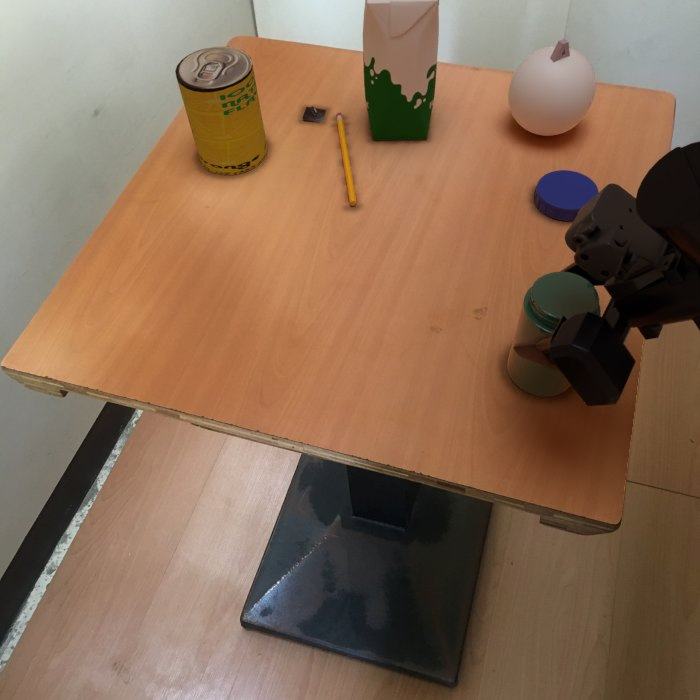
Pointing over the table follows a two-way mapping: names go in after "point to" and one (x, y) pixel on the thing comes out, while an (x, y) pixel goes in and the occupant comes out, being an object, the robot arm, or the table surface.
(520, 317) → the jar
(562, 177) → the lid
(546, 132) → the ornament
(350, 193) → the pencil
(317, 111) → the dark square tile
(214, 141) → the beverage can
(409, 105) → the soya milk
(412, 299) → the table surface
